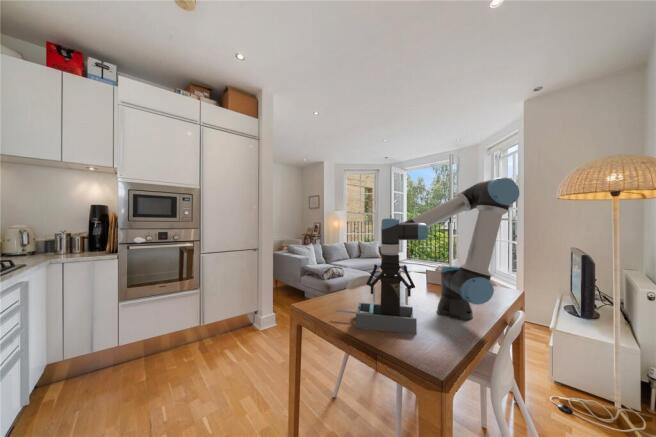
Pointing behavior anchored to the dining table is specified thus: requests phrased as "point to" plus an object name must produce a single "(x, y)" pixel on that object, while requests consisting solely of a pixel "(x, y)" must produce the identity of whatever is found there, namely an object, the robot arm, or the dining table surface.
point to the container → (390, 295)
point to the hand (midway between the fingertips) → (390, 302)
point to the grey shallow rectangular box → (386, 320)
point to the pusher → (360, 312)
